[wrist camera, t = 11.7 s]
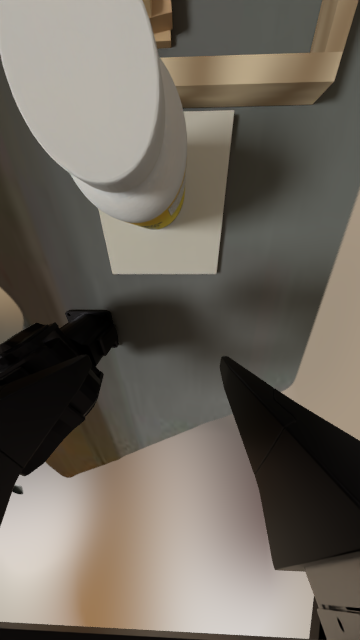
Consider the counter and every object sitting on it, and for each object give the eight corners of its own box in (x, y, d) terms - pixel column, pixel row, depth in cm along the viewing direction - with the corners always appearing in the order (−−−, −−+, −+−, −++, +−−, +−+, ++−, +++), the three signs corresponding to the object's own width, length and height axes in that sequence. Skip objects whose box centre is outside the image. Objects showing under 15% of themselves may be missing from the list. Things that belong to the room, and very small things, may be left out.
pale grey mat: (114, 273, 19) (112, 274, 18) (82, 119, 13) (77, 114, 12) (215, 273, 19) (216, 273, 18) (232, 116, 12) (234, 110, 12)
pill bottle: (107, 193, 15) (-68, 86, 4) (147, 122, 12) (-28, -441, 2) (157, 244, 17) (115, 250, 7) (199, 191, 14) (236, 71, 4)
